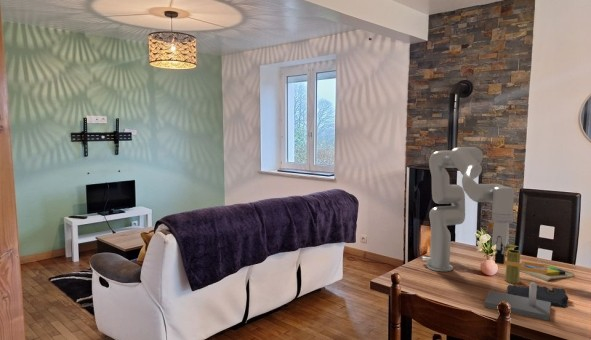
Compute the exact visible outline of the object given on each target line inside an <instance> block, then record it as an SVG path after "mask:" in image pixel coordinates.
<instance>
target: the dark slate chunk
mask: <svg viewBox="0 0 591 340" xmlns="http://www.w3.org/2000/svg"><path fill="white" fill-rule="evenodd" d="M529 288H530V286H529V287H528V286H527V287H526V286H518V285H515V284H513V285H512V284H508V285H507V287H506V291H507V294H511V295H516V296H521V297H527V298H529ZM536 299H537V300H542V301H547V302H551V307H556V308H563V309H564V308H569V306H568V304H567V303H568V300H569V296H568V295H567V293H566V290H565V289H564V288H557V287H552V288H551V289H550V288H548V287H547V286H540V285H538V284H537V291H536Z"/></svg>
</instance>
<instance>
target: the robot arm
mask: <svg viewBox="0 0 591 340" xmlns="http://www.w3.org/2000/svg"><path fill="white" fill-rule="evenodd" d="M483 159H484V155H483V151H482V150H481V149H480V148H479V147H476V146H457V147H454V148H452V149H451V150H437V151H435V152H433V153H431V155H430V157H429V160H428V166H429V172H430V174H431V175H430V176H431V195H432V196H431V197H432V201H433V202H434V203H435V204H439V206H435V207H432V208H431V209H430V211H429V214H428V215H429V216H428V217H429V222H430V246H429V247H430V249H429V256H428V257H427V256H422V257H421V261H422V262H425V263H426V267H427V268H428V269H429V270H431V271H435V272H451V271H453V269H454V267H453V265H452V264H450V261H451V260H450V259H451V232H450V230H449V229H448V226H454V225H462V224H463V223H464V222H465V219H466V195H467V197H469V199H471V201H473V202H475V203H486V202H487V203H490V202H491V206H492V207H491V221H492V222H493V225H492V227H493V228H492V238H491V246H495V253H494V264H495V263H499V264H498V265H500V264H504V248H505V249H506V247H507V244H508V242H509V233H510V224H511V223H513V222H514V203H515V190H514V188H513V187H511V186H508V185H507V186H506V185H502V184H500V183H477V182H476V181H475V179H477V178H478V177H479V176H480V175H481V173H482V172H483V167H482V165H481V163H482V161H483ZM447 168H448V169H449V168H453V169H454V168H455V169H456V168H457V170H458V171H459V172H460V174H461V175H462V177H461V185H458V184H450V183H451V182H450V181H451V180H450V174H449V173H448V170H447ZM440 204H441V205H443V204H444V205H445V204H447V205H445V206H444V205H443V206H441V205H440ZM449 204H451V205H449ZM501 248H502V249H501ZM505 254H507V252H506V251H505Z"/></svg>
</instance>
